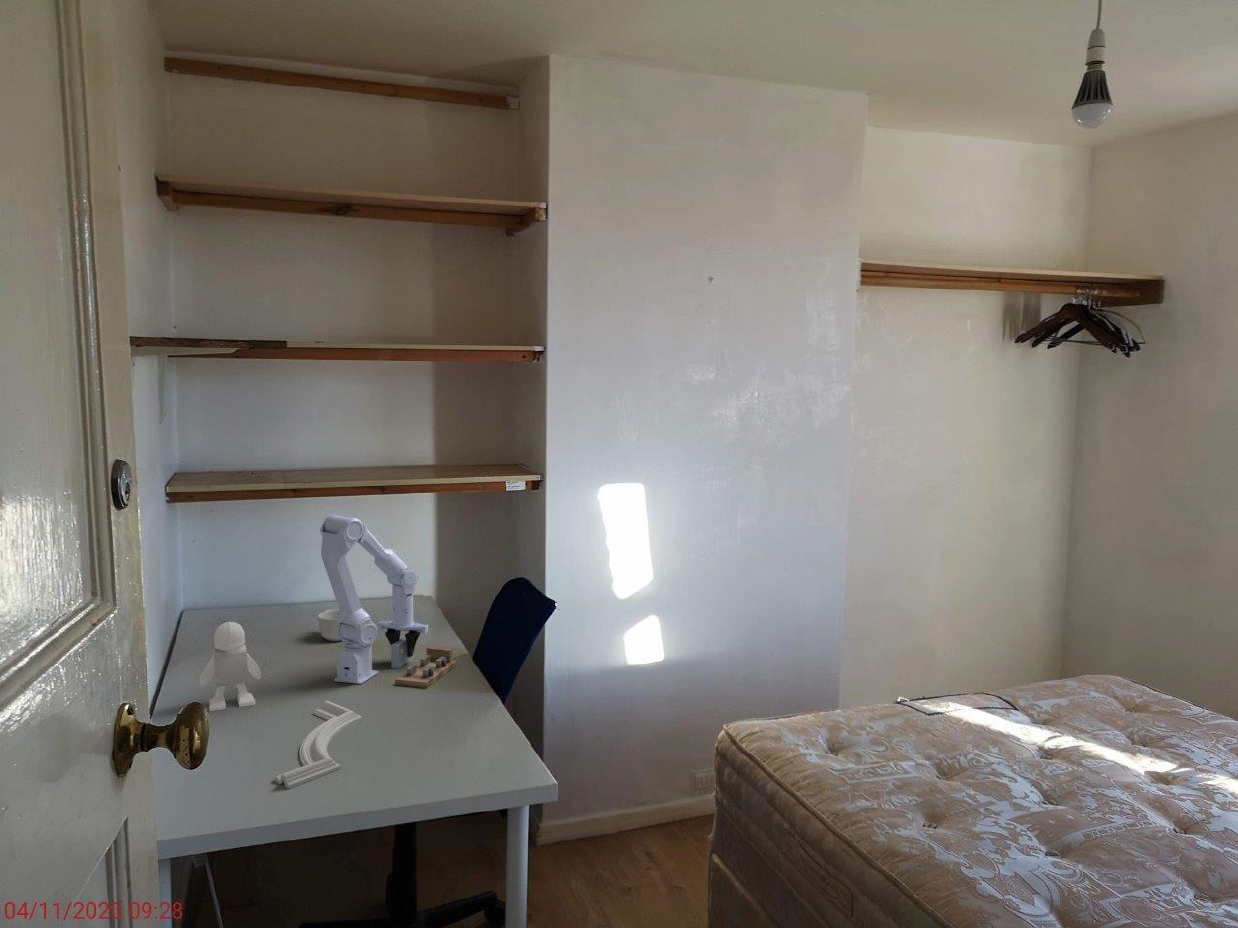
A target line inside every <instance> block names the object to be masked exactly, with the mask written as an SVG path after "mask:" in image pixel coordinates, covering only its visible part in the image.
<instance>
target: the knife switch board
mask: <svg viewBox="0 0 1238 928" xmlns="http://www.w3.org/2000/svg"><path fill="white" fill-rule="evenodd" d="M419 661H420V662H418V663H416V664H415V663H412V664H411V665H409V666H408V667H407V668H406V671H405V672H404V673H402V674H401V675H399V676H397V677H396V678H395V679H394V682H395V683H394V684H395V685H396V686H404V687H412V688H413V687H414V688H425V689H427V688H429V687H431V686H432V685H433V684H434V683H436V682H437V681H438V680H440V679H441V678H443V677H444V676H445V675H446V674H448V673H449V672H450V671H451V670H453V669H454V668H456V667H457V660H453V648H449V647H447V648H446V647H437V646H428V647H426V655H424V656H423V657H421V658H420V659H419Z"/></svg>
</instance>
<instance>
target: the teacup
mask: <svg viewBox="0 0 1238 928" xmlns="http://www.w3.org/2000/svg"><path fill="white" fill-rule="evenodd" d="M340 614H341V613H340V610H339V608H335V609H329V608H328V609H327V608H326V609H324V610H323V611H322V612H320V613H319V614H318V615H317V618H318V626H319V628H318V629H319V632H320V636H321V637H323V638H324V639H326V640H327V641H329V642H340V641H341V642H342V638H340V636H339V635H338V621H337V617H338V616H339V615H340Z"/></svg>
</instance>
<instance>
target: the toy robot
mask: <svg viewBox="0 0 1238 928" xmlns="http://www.w3.org/2000/svg"><path fill="white" fill-rule="evenodd" d="M213 638H214V643H213V645H214V648H212V649H213V650H212V657H211V658H210V660H209V661H208V662H207V664H206V665H205V667H204V668H203V670H202V672H201V674H200V677H199V679H198V680H199V686H200V688H203V687H205V686H206V685H207V684H208V683H209V682H210V680H211V679H212V677H213V686H214V688H215V693H214V695H213V697H212V698H209V705H208V707H209V708H208V709H209V712H214V711H221V710H226V709H227V707H226V697H225V690H226V689H227V687H228V686H233V685H235V687H236V688H237V691H238V692H237V694H236V700H237V703H238V707H239V708H241V707H250V706H255V705H256V699H255V698H254V696H253V694H252V692H248V690H247V686H246V684H248V678H249V677H248V674H251V676H252V677H253V678H254V679H256V680H261V679H262V671H261V669H260V667H259V665H258V664H257V662H256V661H255V660H254V659H253V658H252V657H251V655H249V653H248V651H247V646H246V635H245V630H244V628H243V626H242V625H241V623H237V622H235V621H227V622H223V623H222V624H219V626H217V628H216V630H215V632H214V637H213ZM248 672H249V673H248Z"/></svg>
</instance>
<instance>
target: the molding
mask: <svg viewBox="0 0 1238 928" xmlns="http://www.w3.org/2000/svg"><path fill="white" fill-rule="evenodd" d="M312 715H314V716H316V717H319V718H320V719H323V720H325V721H324V722H323V723H321V724H319V725H318V726H317V727H315V728H314V729H313V730H311V731H310V732H309V733H308V734H307V735H306V736H305V738H304V739H303V740H302V743H301V745H300V748H299V760H300V763H301V766H299V767H297V768H294V769H291V770H290V771H287V772H284V773H281V774H279V775H276V776H274V777H273V781H274V782H276V783H277V784H280V785H281V784H284V787H285V788H287V789H288V790H289V789H293V788H295V787H298V786H300V785H302V784H305V783H307V782H311V781H313V780H316V779H318V778H321V777H324V776H326V775H328V774H331V773H333V772H336V771H338V770H341V769H342V768H341V767H342V765H340V764H339V763H337V762H336V761H335V760H333V759H332V758H331V757H330V755H329V753H328V746H329V743H330V742H331V740H332V739H333V738H334V737H335V736H336V735H337V734H339V733H340V732H341V731H342V730H344V729H345V728H347V727H349V726H351V725H353V724H355V723H358V722H360V721H362V720H363V716H361V715H359V714H357V713H356V712H355V711H353V710H351V709H349V708H346V707H344V706H341V705H339V704H336V703H334V702H332V701H329V700H325V701H323V702H322V707H321V708H315V709H314V711H312Z"/></svg>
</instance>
